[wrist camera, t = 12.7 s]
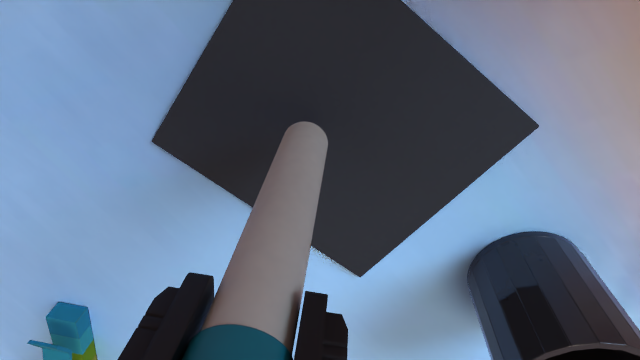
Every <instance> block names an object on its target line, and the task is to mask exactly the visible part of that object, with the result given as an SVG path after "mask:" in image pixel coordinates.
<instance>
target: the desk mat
mask: <svg viewBox="0 0 640 360" xmlns="http://www.w3.org/2000/svg"><path fill="white" fill-rule="evenodd" d="M298 122H311V123H314V124H316V125H318V126H319V127H320V128H321V129H322V130H323V131H324V132H325V134H326V136H327V140H328V148H327V154H326V159H325V165H324V171H323V177H322V183H321V188H320V194H319V200H318V206H317V212H316V217H315V223H314V229H313V235H312V241H311V246H313V247H314V248H316V249H317V250H319V251H320V252H322V253H324V254H325V255H327V256H328V257H330V258H331V259H333V260H334V261H336V262H337V263H339V264H340V265H342V266H344V267H345V268H347V269H348V270H350V271H351V272H353V273H354V274H356V275H357V276H359V277H361V276H362V275H364V274H365V273H366V272H367V271H368V270H369V269H371V268H372V267H373V266H374V265H375V264H377V263H378V262H379V261H380V260H381V259H383V258H384V257H385V256H386V255H387V254H388V253H390V252H391V251H392V250H393V249H394V248H396V247H397V246H398V245H399V244H400V243H401V242H403V241H404V240H405V239H406V238H407V237H409V236H410V235H411V234H412V233H413V232H414V231H416V230H417V229H418V228H419V227H420V226H422V225H423V224H424V223H425V222H426V221H428V220H429V219H430V218H431V217H432V216H433V215H435V214H436V213H437V212H438V211H439V210H441V209H442V208H443V207H444V206H445V205H446V204H448V203H449V202H450V201H451V200H452V199H454V198H455V197H456V196H457V195H458V194H460V193H461V192H462V191H463V190H464V189H465V188H467V187H468V186H469V185H470V184H471V183H473V182H474V181H475V180H476V179H477V178H478V177H480V176H481V175H482V174H483V173H484V172H486V171H487V170H488V169H489V168H490V167H491V166H493V165H494V164H495V163H496V162H497V161H499V160H500V159H501V158H502V157H503V156H505V155H506V154H507V153H508V152H509V151H510V150H512V149H513V148H514V147H515V146H516V145H518V144H519V143H520V142H521V141H522V140H523V139H525V138H526V137H527V136H528V135H529V134H531V133H532V132H533V131H534V130H535V129H537V128H538V127H539V125H538V124H537V123H536V122H535V121H533V120H532V119H531V118H530V117H529V116H528V115H527V114H526V113H525V112H524V111H522V110H521V109H520V108H519V107H518V106H517V105H516V104H515V103H514V102H513V101H511V100H510V99H509V98H508V97H507V96H506V95H505V94H504V93H503V92H501V91H500V90H499V89H498V88H497V87H496V86H495V85H494V84H493V83H492V82H490V81H489V80H488V79H487V78H486V77H485V76H484V75H483V74H482V73H480V72H479V71H478V70H477V69H476V68H475V67H474V66H473V65H472V64H471V63H469V62H468V61H467V60H466V59H465V58H464V57H463V56H462V55H461V54H460V53H458V52H457V51H456V50H455V49H454V48H453V47H452V46H451V45H450V44H448V43H447V42H446V41H445V40H444V39H443V38H442V37H441V36H440V35H439V34H437V33H436V32H435V31H434V30H433V29H432V28H431V27H430V26H429V25H427V24H426V23H425V22H424V21H423V20H422V19H421V18H420V17H419V16H418V15H416V14H415V13H414V12H413V11H412V10H411V9H410V8H409V7H408V6H407V5H405V4H404V3H403V2H402V1H401V0H233V2H232V3H231V5H230V7H229V9H228V10H227V12H226V14H225V16H224V17H223V19H222V21H221V22H220V24H219V26H218V28H217V29H216V31H215V33H214V34H213V36H212V38H211V40H210V41H209V43H208V45H207V47H206V48H205V50H204V52H203V53H202V55H201V57H200V59H199V60H198V62H197V64H196V65H195V67H194V69H193V71H192V72H191V74H190V76H189V77H188V79H187V81H186V83H185V84H184V86H183V88H182V90H181V91H180V93H179V95H178V96H177V98H176V100H175V102H174V103H173V105H172V107H171V108H170V110H169V112H168V114H167V115H166V117H165V119H164V120H163V122H162V124H161V126H160V127H159V129H158V131H157V133H156V134H155V136H154V138H153V139H152V142H153V143H154V144H156V145H157V146H159V147H161V148H162V149H164V150H165V151H167V152H168V153H170V154H171V155H173V156H174V157H176V158H177V159H179V160H181V161H182V162H184V163H185V164H187V165H188V166H190V167H191V168H193V169H194V170H196V171H197V172H199V173H200V174H202V175H204V176H205V177H207V178H208V179H210V180H211V181H213V182H214V183H216V184H217V185H219V186H220V187H222V188H224V189H225V190H227V191H228V192H230V193H231V194H233V195H234V196H236V197H237V198H239V199H240V200H242V201H244V202H245V203H247V204H248V205H250V206H251V207H253V206H254V204H255V202H256V199H257V197H258V195H259V192H260V190H261V188H262V185H263V183H264V180H265V178H266V176H267V173H268V171H269V169H270V166H271V164H272V162H273V159H274V157H275V155H276V152H277V150H278V148H279V145H280V143H281V141H282V138H283V136H284V134H285V132H286V130H287V129H288V128H289V127H290V126H291V125H293V124H295V123H298Z"/></svg>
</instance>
